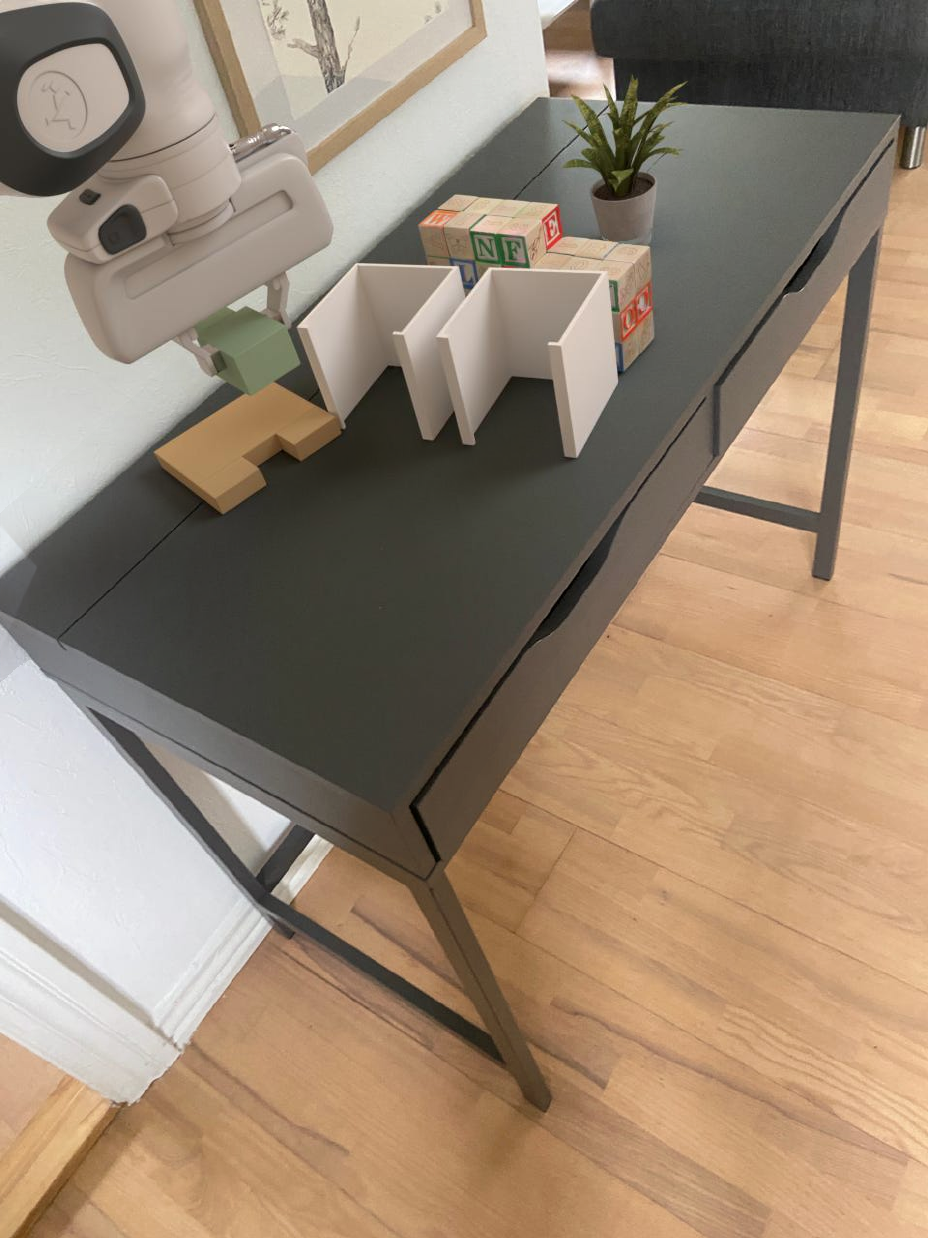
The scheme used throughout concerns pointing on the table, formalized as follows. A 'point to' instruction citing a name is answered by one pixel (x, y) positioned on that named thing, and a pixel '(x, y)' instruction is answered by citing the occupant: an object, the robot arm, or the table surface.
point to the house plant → (623, 165)
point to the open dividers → (466, 342)
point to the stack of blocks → (542, 257)
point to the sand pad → (245, 444)
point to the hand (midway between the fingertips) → (247, 350)
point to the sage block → (249, 347)
